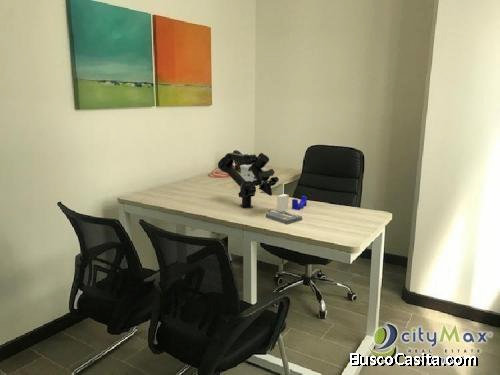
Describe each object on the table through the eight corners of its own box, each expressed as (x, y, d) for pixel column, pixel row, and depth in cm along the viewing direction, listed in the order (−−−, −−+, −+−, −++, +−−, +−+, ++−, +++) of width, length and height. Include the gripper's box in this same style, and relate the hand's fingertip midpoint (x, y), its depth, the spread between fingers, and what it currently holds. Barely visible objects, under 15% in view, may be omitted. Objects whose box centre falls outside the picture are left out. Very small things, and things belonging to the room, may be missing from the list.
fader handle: (276, 214, 219) (277, 195, 217) (284, 212, 223) (284, 194, 220) (280, 215, 217) (281, 196, 215) (287, 213, 221) (288, 195, 218)
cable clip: (298, 210, 236) (298, 200, 235) (291, 209, 239) (292, 199, 238) (308, 206, 246) (309, 196, 244) (302, 205, 248) (302, 195, 247)
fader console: (265, 217, 222) (265, 211, 221) (280, 213, 229) (281, 207, 229) (286, 224, 210) (286, 218, 209) (301, 219, 218) (302, 214, 217)
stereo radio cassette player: (266, 184, 303) (266, 158, 299) (258, 186, 298) (259, 159, 293) (246, 180, 318) (246, 155, 313) (239, 181, 312) (239, 156, 307)
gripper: (253, 166, 219) (266, 189, 213) (277, 162, 231) (290, 184, 225) (243, 178, 226) (256, 200, 221) (267, 174, 238) (280, 195, 233)
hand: (271, 195), depth 225 cm, fingers closed
